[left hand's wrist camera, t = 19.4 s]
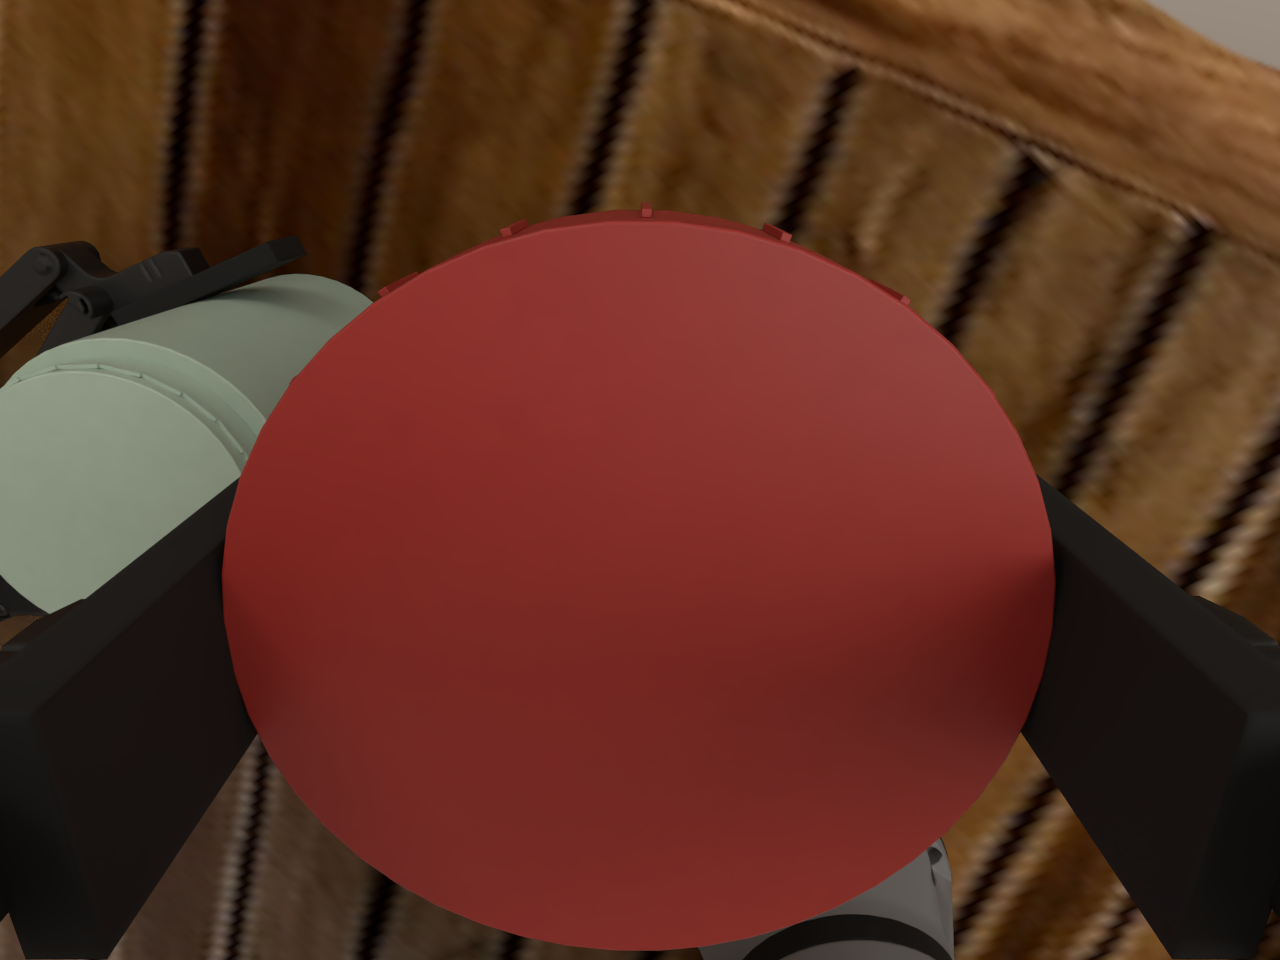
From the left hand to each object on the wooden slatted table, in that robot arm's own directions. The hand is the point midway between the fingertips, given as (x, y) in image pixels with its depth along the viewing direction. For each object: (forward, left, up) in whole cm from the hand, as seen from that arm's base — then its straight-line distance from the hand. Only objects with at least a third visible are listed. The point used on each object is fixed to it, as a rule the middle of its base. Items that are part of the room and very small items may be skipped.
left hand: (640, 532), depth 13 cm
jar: (-8, +13, -25) cm, 30 cm away
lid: (0, 0, +3) cm, 3 cm away
